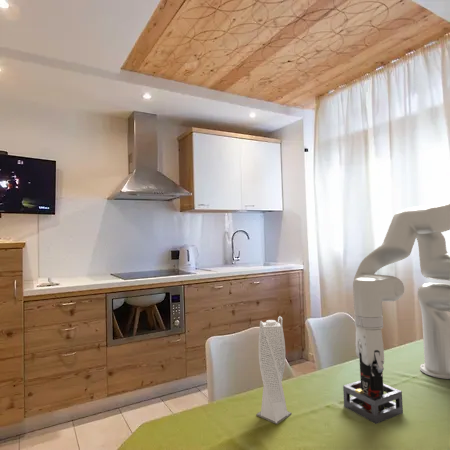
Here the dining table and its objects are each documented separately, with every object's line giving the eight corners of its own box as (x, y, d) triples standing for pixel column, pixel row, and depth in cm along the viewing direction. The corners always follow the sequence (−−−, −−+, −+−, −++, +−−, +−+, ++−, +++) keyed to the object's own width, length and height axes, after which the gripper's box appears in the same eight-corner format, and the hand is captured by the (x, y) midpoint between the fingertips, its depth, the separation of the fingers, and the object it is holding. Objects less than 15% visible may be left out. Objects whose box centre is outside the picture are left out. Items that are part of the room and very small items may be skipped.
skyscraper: (295, 416, 94) (291, 314, 96) (278, 428, 89) (274, 320, 90) (271, 406, 100) (268, 310, 102) (253, 417, 95) (250, 315, 96)
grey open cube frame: (370, 397, 104) (369, 375, 104) (402, 413, 94) (401, 389, 94) (343, 406, 99) (342, 383, 99) (375, 424, 89) (374, 398, 89)
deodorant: (387, 405, 97) (384, 351, 97) (380, 413, 92) (377, 357, 93) (366, 399, 101) (363, 348, 101) (358, 407, 96) (355, 353, 97)
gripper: (346, 314, 106) (349, 373, 106) (366, 329, 89) (369, 399, 88) (370, 314, 106) (373, 372, 105) (395, 329, 89) (399, 399, 88)
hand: (371, 384), depth 97 cm, fingers closed on deodorant, 5 cm apart
